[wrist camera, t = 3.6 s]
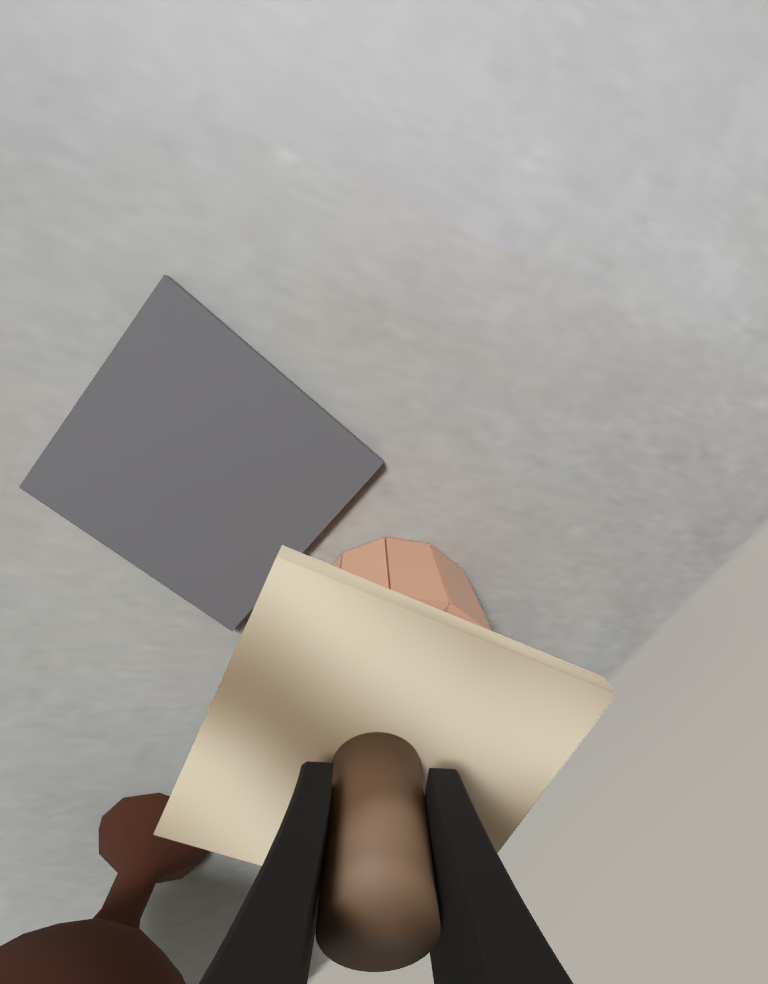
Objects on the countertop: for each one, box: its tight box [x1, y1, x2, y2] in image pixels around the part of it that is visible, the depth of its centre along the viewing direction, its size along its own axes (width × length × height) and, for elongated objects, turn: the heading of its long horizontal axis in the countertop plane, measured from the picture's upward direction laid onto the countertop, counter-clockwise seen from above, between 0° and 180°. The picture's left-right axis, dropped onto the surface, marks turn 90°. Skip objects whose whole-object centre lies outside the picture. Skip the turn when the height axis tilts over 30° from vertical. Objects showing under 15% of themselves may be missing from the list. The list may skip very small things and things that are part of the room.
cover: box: [153, 545, 616, 972], centre depth 9 cm, size 9×9×4 cm
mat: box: [19, 275, 384, 631], centre depth 16 cm, size 10×10×1 cm
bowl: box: [332, 537, 492, 631], centre depth 16 cm, size 7×7×4 cm
